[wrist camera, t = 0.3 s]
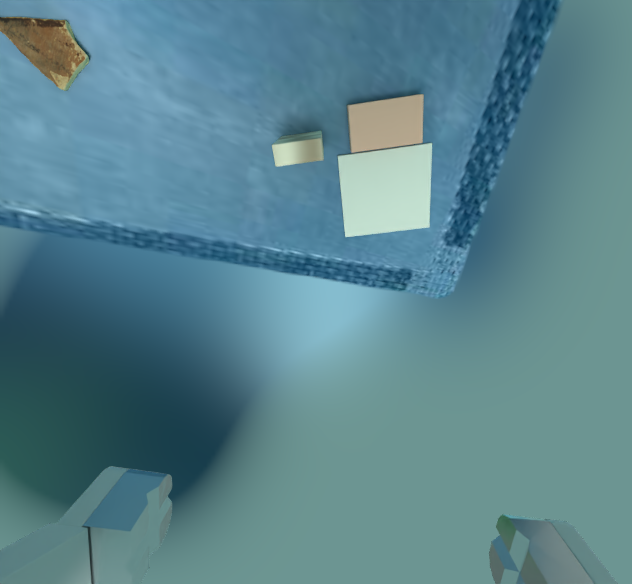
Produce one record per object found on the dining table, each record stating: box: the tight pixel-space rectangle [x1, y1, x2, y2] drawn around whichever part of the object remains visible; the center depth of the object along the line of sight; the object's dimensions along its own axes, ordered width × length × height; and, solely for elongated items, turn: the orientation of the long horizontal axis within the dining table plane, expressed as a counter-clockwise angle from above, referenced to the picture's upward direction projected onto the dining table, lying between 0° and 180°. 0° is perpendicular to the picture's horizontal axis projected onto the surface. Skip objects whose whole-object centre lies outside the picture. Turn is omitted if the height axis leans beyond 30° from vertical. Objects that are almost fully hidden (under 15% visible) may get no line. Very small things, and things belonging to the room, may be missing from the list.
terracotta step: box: [347, 94, 423, 153], centre depth 48 cm, size 10×6×3 cm, turn 98°
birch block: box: [272, 131, 323, 167], centre depth 46 cm, size 6×2×11 cm, turn 98°
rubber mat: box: [338, 143, 432, 237], centre depth 54 cm, size 14×13×1 cm
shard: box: [0, 17, 89, 91], centre depth 45 cm, size 11×8×2 cm
